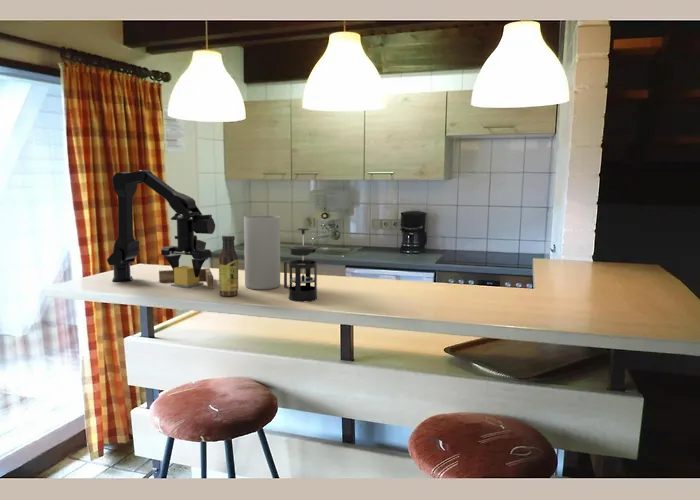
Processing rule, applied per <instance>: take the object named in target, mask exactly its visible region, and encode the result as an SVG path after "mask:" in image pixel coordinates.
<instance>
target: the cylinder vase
mask: <svg viewBox="0 0 700 500" xmlns="http://www.w3.org/2000/svg"><path fill="white" fill-rule="evenodd" d="M243 233H244V235H243V236H244V237H243V238H244V240H243V242H244V247H243V248H244V286H245V287H246V288H247V289H250V290H260V291H261V290H262V291H263V290H265V291H266V290H273V289H276V288H277V289H278V287H280V286H281V217H280V216H279V215H264V214H263V215H260V214H259V215H246V216H243Z"/></svg>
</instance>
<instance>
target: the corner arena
mask: <svg viewBox="0 0 700 500" xmlns="http://www.w3.org/2000/svg"><path fill="white" fill-rule="evenodd" d="M158 275H159V276H158V279H159V280H158V282H159V283H163V282H164V283H168V282H169V283H170V282H174V271H173V269H167V270H163V269H162V270H158ZM214 279H215V277H214V275H213V273H212V271H211V269H210V267H209V268H208V267H207V268H201V270H200V273H199V281H205V282H206V285H207V287H208V289H209V290H212V289H215V288H214V287H215V284H214V283H215V282H214V281H215V280H214Z"/></svg>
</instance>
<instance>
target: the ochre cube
mask: <svg viewBox="0 0 700 500" xmlns="http://www.w3.org/2000/svg"><path fill="white" fill-rule="evenodd" d="M173 282H174V284H176V285H184V286H189V285H193V284H197V283H199V282H200V280H199V276H198V277H195V274H194V270H193V265H188V264H184V265H181V266H180V265H179V267H175V268H174V281H173Z"/></svg>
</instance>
